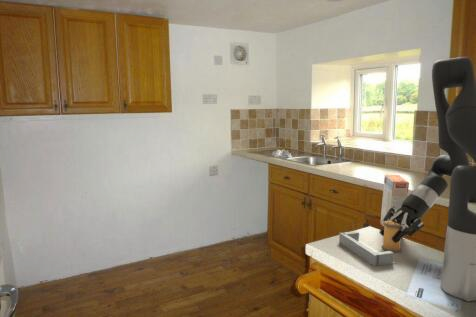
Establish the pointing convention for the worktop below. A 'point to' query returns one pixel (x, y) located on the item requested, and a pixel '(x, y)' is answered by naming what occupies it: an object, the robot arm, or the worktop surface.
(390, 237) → the orange cylinder
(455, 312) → the worktop surface
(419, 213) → the robot arm
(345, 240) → the duct tray
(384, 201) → the cracker box
